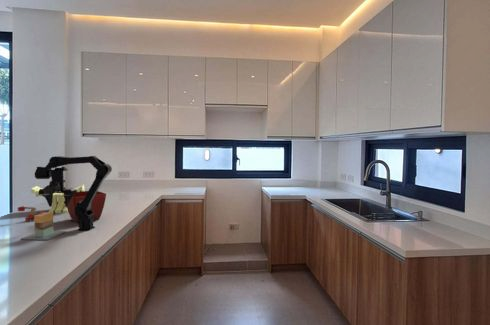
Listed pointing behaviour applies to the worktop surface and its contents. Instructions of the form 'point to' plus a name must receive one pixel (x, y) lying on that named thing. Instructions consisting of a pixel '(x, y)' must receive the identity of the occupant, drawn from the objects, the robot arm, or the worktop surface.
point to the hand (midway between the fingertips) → (58, 206)
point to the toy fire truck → (30, 215)
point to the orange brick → (43, 217)
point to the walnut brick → (43, 225)
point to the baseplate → (32, 237)
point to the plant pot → (96, 204)
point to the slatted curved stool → (56, 205)
